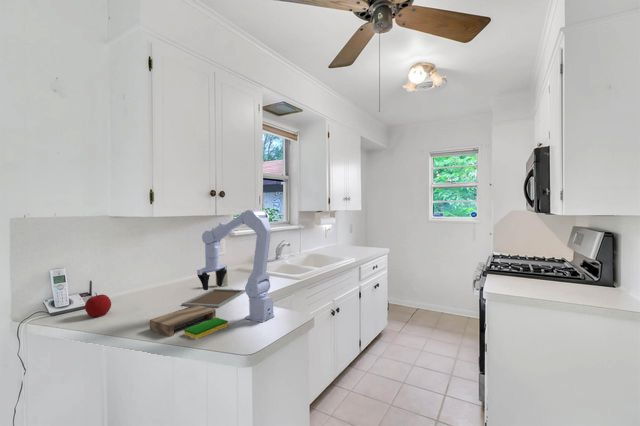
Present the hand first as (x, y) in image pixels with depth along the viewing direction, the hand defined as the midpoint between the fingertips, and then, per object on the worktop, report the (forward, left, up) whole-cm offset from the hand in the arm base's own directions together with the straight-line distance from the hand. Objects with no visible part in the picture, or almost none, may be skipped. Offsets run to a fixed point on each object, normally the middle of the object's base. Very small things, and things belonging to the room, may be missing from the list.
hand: (212, 287), depth 131 cm
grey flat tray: (+14, -14, -11) cm, 22 cm away
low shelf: (-3, +17, -10) cm, 20 cm away
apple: (+39, +28, -10) cm, 49 cm away
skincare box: (+31, -32, -10) cm, 46 cm away
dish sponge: (-16, +17, -10) cm, 26 cm away
